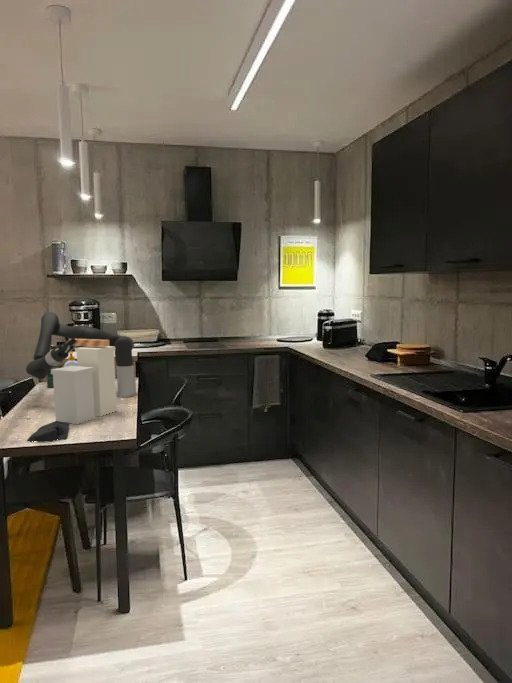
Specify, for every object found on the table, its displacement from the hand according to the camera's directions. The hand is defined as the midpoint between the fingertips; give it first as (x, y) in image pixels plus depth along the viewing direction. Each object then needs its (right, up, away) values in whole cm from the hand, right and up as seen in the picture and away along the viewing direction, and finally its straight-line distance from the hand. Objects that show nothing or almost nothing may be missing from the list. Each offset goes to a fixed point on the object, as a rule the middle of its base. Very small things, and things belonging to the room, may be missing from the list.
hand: (78, 339), depth 247 cm
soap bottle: (-24, -30, +59) cm, 70 cm away
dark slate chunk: (+2, -40, -36) cm, 54 cm away
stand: (+10, -36, -1) cm, 37 cm away
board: (+6, -3, -3) cm, 7 cm away
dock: (+4, -37, -14) cm, 40 cm away
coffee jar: (-38, -30, +69) cm, 84 cm away
